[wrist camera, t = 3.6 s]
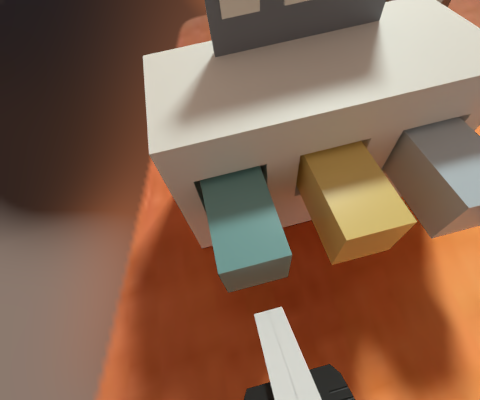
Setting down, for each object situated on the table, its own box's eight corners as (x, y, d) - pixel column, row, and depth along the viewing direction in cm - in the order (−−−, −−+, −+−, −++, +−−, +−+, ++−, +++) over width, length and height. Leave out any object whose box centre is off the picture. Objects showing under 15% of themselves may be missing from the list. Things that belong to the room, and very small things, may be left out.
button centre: (330, 148, 23) (340, 110, 19) (389, 249, 18) (417, 221, 14) (285, 159, 23) (287, 123, 19) (331, 265, 17) (346, 240, 14)
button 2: (406, 129, 23) (430, 89, 20) (486, 223, 18) (536, 190, 15) (363, 140, 23) (379, 101, 20) (431, 238, 18) (469, 208, 14)
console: (371, 124, 31) (425, -7, 20) (421, 191, 26) (533, 62, 15) (188, 168, 30) (142, 55, 19) (202, 248, 25) (149, 154, 14)
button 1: (251, 168, 22) (247, 132, 19) (287, 276, 17) (292, 254, 14) (204, 179, 22) (193, 145, 19) (228, 292, 17) (218, 274, 14)
